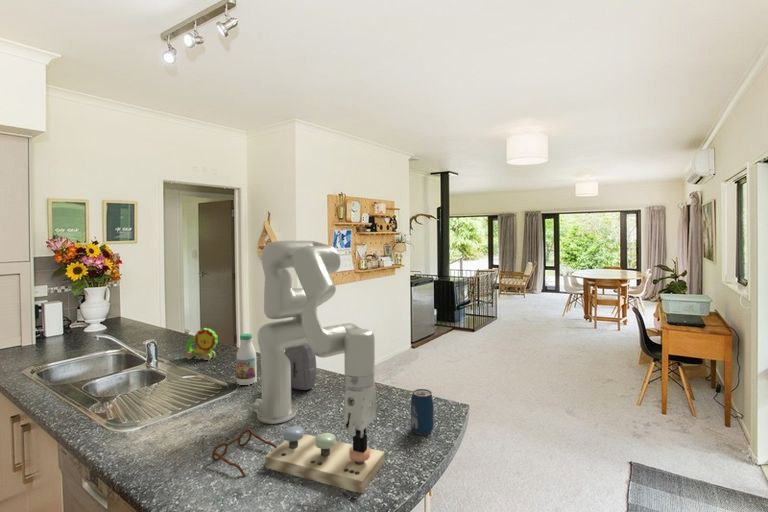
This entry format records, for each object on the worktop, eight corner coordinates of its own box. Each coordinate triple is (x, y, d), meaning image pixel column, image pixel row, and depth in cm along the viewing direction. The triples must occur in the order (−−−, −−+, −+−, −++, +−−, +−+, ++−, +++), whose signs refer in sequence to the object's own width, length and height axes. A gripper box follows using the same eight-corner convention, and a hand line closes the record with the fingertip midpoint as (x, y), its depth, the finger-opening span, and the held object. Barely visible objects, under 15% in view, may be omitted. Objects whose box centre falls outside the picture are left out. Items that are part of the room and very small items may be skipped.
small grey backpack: (320, 389, 159) (319, 338, 158) (305, 396, 152) (304, 343, 151) (292, 381, 167) (291, 333, 166) (277, 387, 160) (276, 338, 159)
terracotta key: (345, 459, 101) (345, 452, 101) (355, 448, 106) (355, 443, 106) (364, 463, 99) (364, 457, 99) (373, 453, 104) (373, 446, 104)
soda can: (435, 427, 128) (435, 389, 127) (430, 437, 122) (430, 398, 121) (414, 423, 130) (414, 387, 130) (408, 433, 124) (408, 395, 123)
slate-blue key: (279, 439, 109) (279, 433, 109) (291, 430, 114) (291, 424, 114) (295, 442, 107) (295, 436, 107) (306, 433, 112) (306, 428, 112)
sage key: (311, 446, 105) (311, 440, 105) (321, 437, 110) (321, 431, 110) (329, 450, 103) (328, 444, 103) (338, 440, 108) (338, 435, 108)
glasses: (249, 442, 119) (249, 426, 119) (282, 454, 113) (282, 437, 112) (210, 464, 108) (210, 446, 108) (244, 479, 101) (244, 460, 101)
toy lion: (184, 359, 196) (183, 328, 195) (191, 356, 201) (190, 326, 201) (213, 361, 193) (213, 330, 192) (220, 358, 198) (219, 327, 198)
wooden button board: (265, 467, 106) (264, 451, 105) (296, 442, 119) (296, 427, 118) (362, 493, 95) (362, 476, 95) (384, 462, 108) (384, 447, 108)
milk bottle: (239, 379, 169) (238, 332, 168) (258, 379, 170) (257, 332, 169) (234, 386, 162) (233, 337, 160) (254, 386, 162) (253, 336, 161)
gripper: (360, 392, 93) (360, 469, 94) (384, 371, 107) (384, 439, 108) (331, 387, 96) (332, 462, 97) (359, 368, 110) (359, 434, 111)
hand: (360, 450), depth 103 cm, fingers closed
